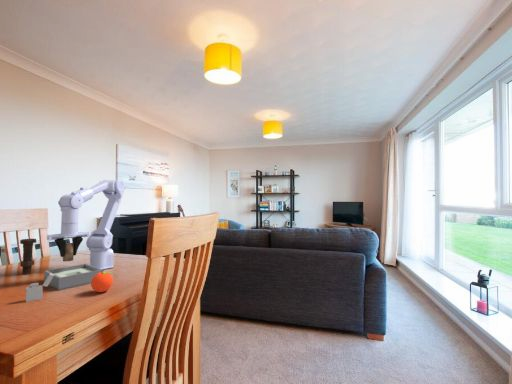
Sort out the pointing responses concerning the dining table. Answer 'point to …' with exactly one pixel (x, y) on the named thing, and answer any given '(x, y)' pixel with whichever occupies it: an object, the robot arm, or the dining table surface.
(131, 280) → the dining table surface
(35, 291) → the lighter
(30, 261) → the bolt
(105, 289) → the clementine
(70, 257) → the peg
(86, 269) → the bore box
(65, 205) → the robot arm
